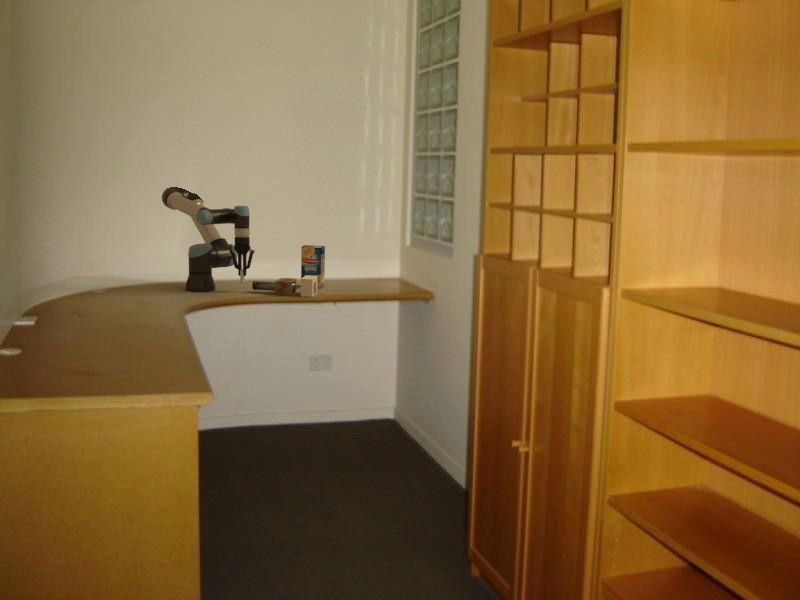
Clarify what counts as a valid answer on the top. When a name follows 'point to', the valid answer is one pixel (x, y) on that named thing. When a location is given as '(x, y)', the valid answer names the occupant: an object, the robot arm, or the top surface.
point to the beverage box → (313, 263)
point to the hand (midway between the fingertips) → (242, 282)
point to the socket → (308, 286)
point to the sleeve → (284, 287)
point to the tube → (268, 286)
